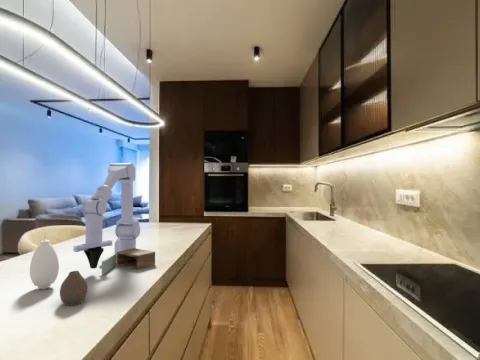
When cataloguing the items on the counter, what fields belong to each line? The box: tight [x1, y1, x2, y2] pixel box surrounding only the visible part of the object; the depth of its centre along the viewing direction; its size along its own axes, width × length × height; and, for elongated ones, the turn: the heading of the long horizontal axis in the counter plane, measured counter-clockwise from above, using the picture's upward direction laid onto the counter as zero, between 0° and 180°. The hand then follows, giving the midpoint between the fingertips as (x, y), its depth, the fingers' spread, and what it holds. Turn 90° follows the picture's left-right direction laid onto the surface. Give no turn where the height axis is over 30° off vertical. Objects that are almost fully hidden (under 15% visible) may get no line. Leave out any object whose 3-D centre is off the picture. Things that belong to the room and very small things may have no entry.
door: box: [98, 253, 117, 275], centre depth 121 cm, size 14×2×5 cm, turn 4°
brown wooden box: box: [116, 247, 156, 271], centre depth 129 cm, size 13×9×6 cm
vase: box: [59, 270, 88, 306], centre depth 87 cm, size 7×7×9 cm
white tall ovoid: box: [29, 232, 60, 290], centre depth 99 cm, size 8×8×18 cm
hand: (93, 267), depth 115 cm, fingers closed
